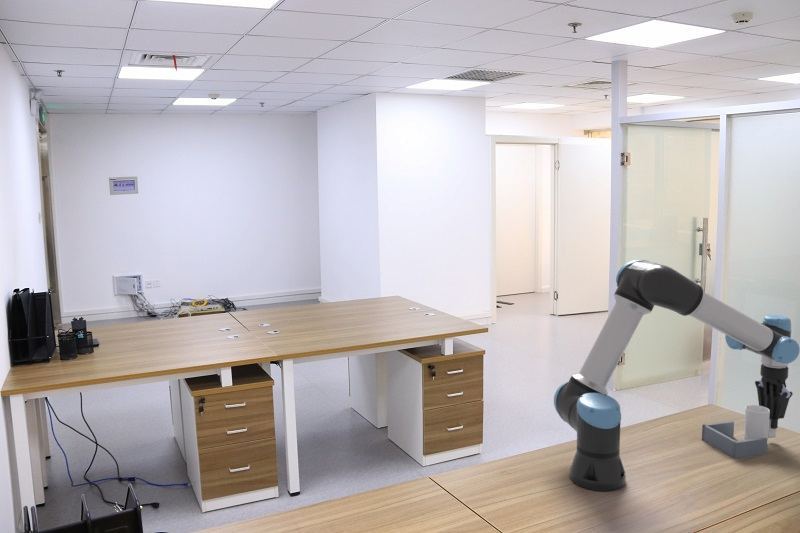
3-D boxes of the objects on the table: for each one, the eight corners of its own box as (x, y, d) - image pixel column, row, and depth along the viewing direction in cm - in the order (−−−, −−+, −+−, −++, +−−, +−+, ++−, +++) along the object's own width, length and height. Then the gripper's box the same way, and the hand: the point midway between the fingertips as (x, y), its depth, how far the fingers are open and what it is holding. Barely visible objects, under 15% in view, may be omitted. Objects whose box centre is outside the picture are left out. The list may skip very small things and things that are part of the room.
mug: (766, 451, 203) (768, 414, 201) (741, 446, 207) (743, 410, 205) (770, 440, 211) (772, 404, 209) (747, 436, 215) (749, 400, 213)
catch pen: (735, 458, 198) (736, 442, 198) (701, 439, 213) (702, 424, 212) (766, 454, 201) (767, 438, 200) (731, 435, 215) (731, 420, 215)
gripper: (801, 369, 201) (796, 443, 204) (768, 358, 214) (764, 428, 217) (780, 371, 199) (776, 446, 203) (748, 360, 212) (745, 430, 215)
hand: (770, 436), depth 210 cm, fingers closed
